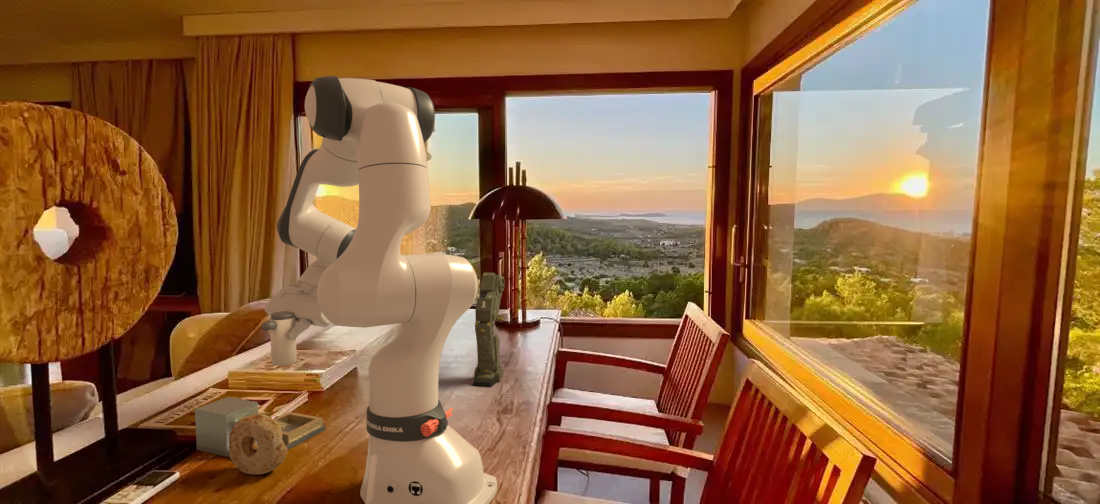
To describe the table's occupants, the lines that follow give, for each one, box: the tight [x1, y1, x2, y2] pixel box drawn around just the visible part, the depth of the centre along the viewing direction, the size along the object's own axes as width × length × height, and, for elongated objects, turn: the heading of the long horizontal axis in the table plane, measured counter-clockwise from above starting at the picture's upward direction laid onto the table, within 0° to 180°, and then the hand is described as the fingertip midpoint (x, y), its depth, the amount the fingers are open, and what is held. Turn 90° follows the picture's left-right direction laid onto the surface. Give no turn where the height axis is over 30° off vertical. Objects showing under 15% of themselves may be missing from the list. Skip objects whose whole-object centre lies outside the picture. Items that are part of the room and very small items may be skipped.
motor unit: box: [194, 396, 326, 458], centre depth 107 cm, size 16×16×8 cm
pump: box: [261, 311, 298, 367], centre depth 117 cm, size 5×7×11 cm
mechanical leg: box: [472, 272, 506, 388], centre depth 145 cm, size 14×7×30 cm, turn 169°
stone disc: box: [229, 413, 288, 475], centre depth 94 cm, size 10×4×10 cm, turn 75°
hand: (280, 336), depth 118 cm, fingers closed on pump, 5 cm apart
